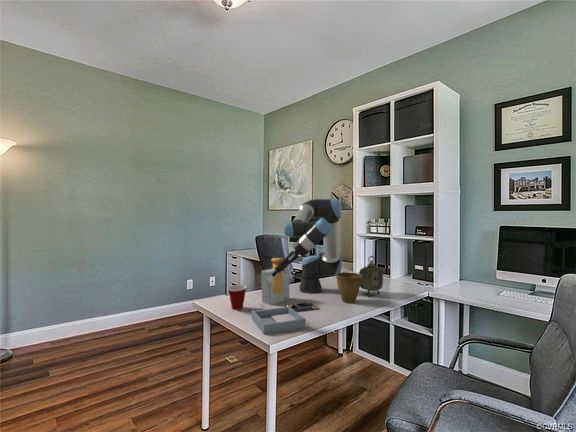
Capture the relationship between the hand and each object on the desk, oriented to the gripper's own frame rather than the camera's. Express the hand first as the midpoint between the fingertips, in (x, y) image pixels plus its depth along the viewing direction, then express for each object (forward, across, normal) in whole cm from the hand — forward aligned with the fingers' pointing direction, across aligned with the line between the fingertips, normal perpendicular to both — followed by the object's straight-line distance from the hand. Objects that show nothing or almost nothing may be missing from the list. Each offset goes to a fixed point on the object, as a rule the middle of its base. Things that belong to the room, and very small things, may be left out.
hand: (269, 278), depth 146 cm
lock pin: (+2, 0, -7) cm, 7 cm away
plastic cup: (+32, +17, +2) cm, 36 cm away
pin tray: (+12, 0, -18) cm, 22 cm away
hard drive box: (+19, +31, -11) cm, 38 cm away
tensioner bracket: (+7, +22, -23) cm, 33 cm away
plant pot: (-10, +45, -40) cm, 62 cm away
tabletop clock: (-20, +64, -50) cm, 84 cm away
